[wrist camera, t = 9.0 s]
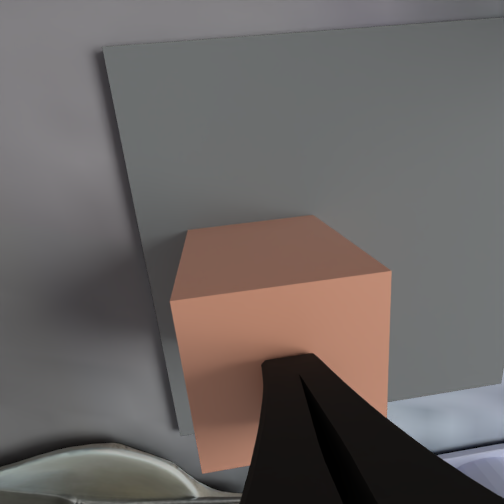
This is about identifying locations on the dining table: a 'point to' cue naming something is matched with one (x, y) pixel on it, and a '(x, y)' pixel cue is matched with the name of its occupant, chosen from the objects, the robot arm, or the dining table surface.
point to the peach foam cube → (273, 322)
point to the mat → (335, 171)
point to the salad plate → (103, 479)
